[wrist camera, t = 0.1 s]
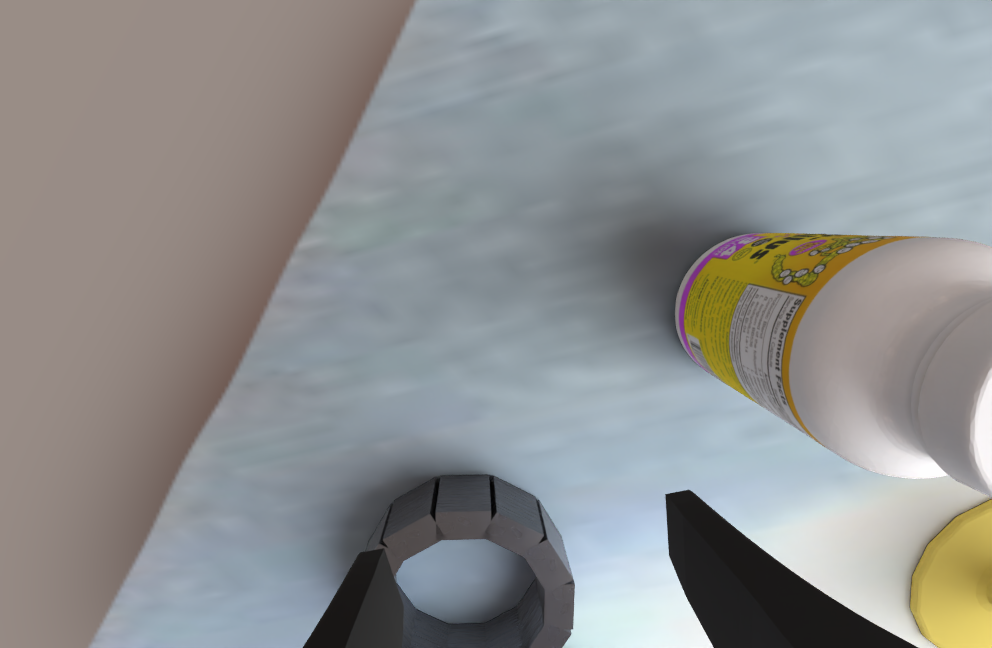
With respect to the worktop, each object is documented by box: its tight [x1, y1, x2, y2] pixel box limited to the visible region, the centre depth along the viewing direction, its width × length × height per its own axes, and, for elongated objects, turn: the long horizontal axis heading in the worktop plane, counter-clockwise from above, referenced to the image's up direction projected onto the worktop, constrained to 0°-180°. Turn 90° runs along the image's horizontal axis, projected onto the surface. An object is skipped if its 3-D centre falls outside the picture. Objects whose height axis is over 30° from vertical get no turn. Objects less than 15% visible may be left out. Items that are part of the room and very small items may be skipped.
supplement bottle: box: [675, 233, 992, 497], centre depth 16 cm, size 7×7×13 cm
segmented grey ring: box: [365, 475, 575, 648], centre depth 23 cm, size 10×10×3 cm
